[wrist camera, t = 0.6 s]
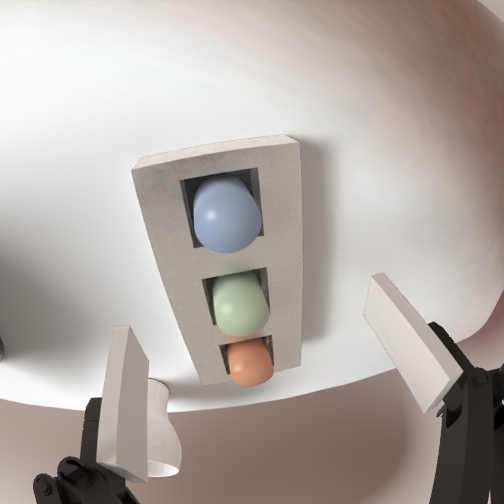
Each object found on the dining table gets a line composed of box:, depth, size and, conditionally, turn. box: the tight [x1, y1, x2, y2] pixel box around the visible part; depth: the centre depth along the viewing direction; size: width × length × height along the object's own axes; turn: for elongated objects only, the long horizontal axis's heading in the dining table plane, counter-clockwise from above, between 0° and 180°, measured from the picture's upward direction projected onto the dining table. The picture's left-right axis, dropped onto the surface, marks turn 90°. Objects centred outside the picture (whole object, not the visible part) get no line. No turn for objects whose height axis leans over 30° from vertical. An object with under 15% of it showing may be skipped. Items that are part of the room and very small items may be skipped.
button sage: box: [212, 270, 270, 336], centre depth 30 cm, size 5×5×5 cm
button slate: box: [193, 174, 262, 254], centre depth 24 cm, size 5×5×5 cm
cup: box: [147, 379, 182, 477], centre depth 37 cm, size 11×11×15 cm
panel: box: [131, 135, 303, 386], centre depth 32 cm, size 14×30×4 cm, turn 6°
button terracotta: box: [226, 337, 274, 386], centre depth 35 cm, size 5×5×5 cm
